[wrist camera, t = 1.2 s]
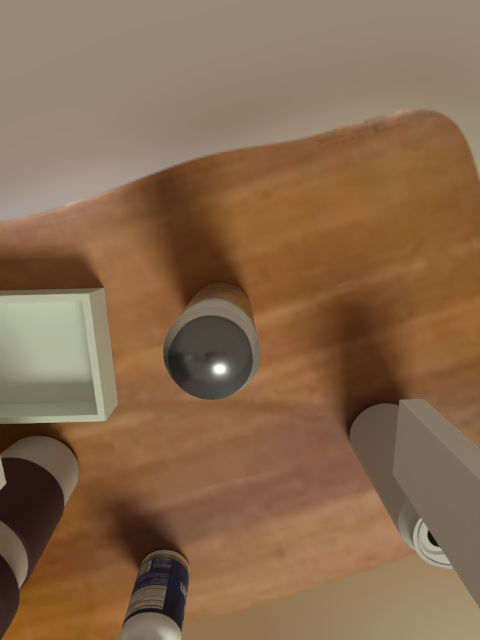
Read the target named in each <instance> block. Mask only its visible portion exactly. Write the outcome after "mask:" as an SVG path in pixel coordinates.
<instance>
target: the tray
mask: <svg viewBox="0 0 480 640" xmlns="http://www.w3.org/2000/svg"><path fill="white" fill-rule="evenodd" d="M117 405H118V399H117V391H116V383H115V374H114V366H113V358H112V349H111V341H110V333H109V324H108V316H107V308H106V300H105V291H104V288H77V289H38V290H0V424H17V423H53V422H90V421H106V420H107V419H108V417H109V416H110V414H111V413H112V412H113V410H114V409H115V407H116V406H117Z"/></svg>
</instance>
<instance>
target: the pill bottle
mask: <svg viewBox="0 0 480 640" xmlns="http://www.w3.org/2000/svg"><path fill="white" fill-rule="evenodd" d="M189 577H190V569H189V565H188V563H187V561H186V559H185V558H184V557H183V556H182V555H180V554H179V553H177V552H175V551H171V550H158V551H155V552H152V553H150V554H149V555H148V556H146V557H145V558H144V560H143V561H142V563H141V566H140V568H139V571H138V575H137V578H136V582H135V585H134V589H133V592H132V595H131V599H130V602H129V606H128V609H127V613H126V616H125V619H124V623H123V626H122V630H121V634H120V639H119V640H181V636H182V628H183V621H184V614H185V607H186V599H187V592H188V584H189Z"/></svg>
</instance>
